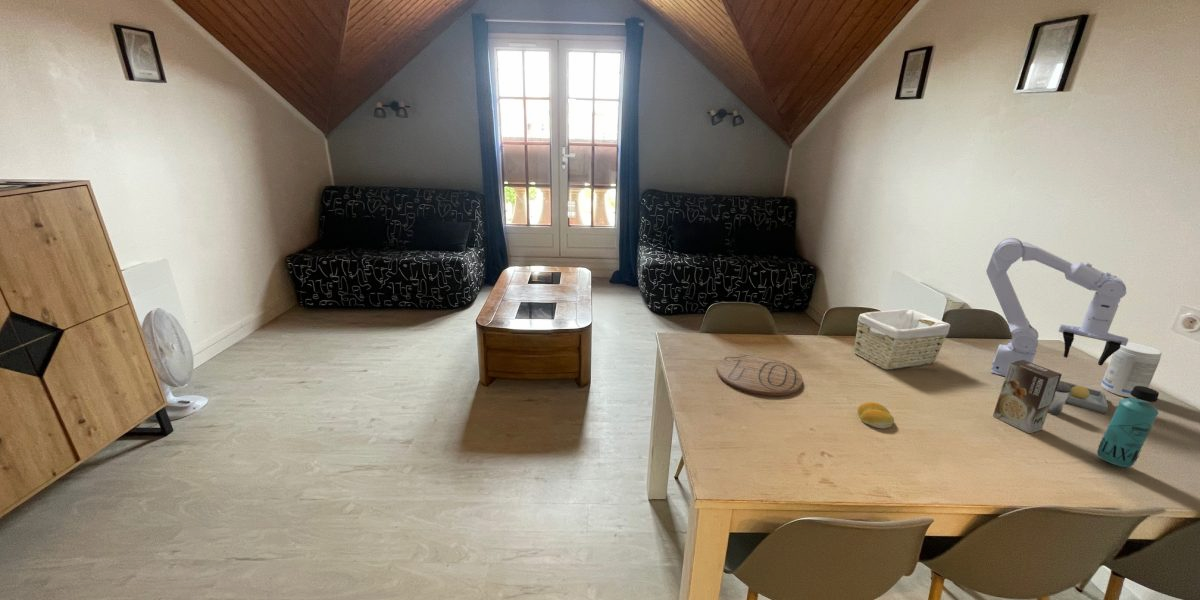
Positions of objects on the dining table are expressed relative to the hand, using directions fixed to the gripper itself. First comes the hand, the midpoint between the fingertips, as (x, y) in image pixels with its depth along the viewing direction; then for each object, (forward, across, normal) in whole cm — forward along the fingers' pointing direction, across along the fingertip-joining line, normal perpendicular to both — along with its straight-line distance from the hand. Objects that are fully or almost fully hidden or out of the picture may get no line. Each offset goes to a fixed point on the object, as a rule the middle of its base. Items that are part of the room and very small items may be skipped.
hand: (1082, 360), depth 149 cm
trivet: (+10, -74, -60) cm, 96 cm away
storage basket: (+10, -45, -15) cm, 49 cm away
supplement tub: (+10, +12, +10) cm, 19 cm away
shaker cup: (+10, -5, -21) cm, 24 cm away
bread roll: (+10, -41, -62) cm, 75 cm away
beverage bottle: (+10, +6, -43) cm, 45 cm away
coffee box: (+10, -12, -36) cm, 39 cm away
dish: (+10, +1, -6) cm, 12 cm away
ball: (+7, +1, -8) cm, 11 cm away
